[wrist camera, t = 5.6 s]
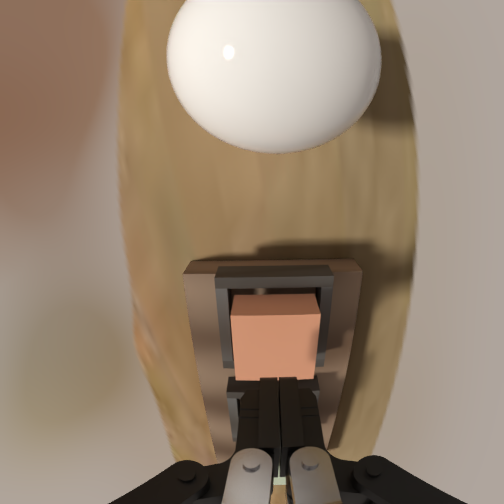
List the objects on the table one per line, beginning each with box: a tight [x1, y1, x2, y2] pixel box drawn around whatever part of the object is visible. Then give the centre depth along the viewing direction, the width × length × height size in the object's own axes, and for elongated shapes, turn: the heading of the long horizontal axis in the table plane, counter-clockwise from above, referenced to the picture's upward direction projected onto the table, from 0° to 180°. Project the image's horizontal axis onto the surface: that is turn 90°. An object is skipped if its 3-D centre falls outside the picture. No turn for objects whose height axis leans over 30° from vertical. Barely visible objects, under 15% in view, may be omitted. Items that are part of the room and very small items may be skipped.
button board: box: [183, 259, 363, 464], centre depth 20 cm, size 22×10×4 cm, turn 2°
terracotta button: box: [230, 294, 321, 380], centre depth 15 cm, size 4×4×2 cm
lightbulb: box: [166, 0, 382, 154], centre depth 10 cm, size 6×6×11 cm
